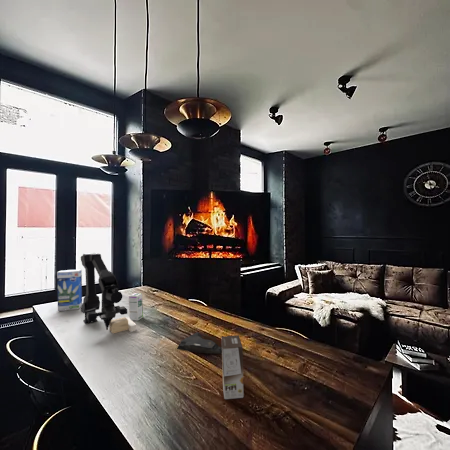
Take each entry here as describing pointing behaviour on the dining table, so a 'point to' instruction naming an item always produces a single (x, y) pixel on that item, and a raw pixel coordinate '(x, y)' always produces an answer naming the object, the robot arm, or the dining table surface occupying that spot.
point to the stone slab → (199, 345)
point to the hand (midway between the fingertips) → (107, 329)
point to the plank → (131, 325)
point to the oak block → (118, 325)
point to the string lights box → (69, 289)
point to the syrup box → (135, 306)
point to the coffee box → (232, 367)
